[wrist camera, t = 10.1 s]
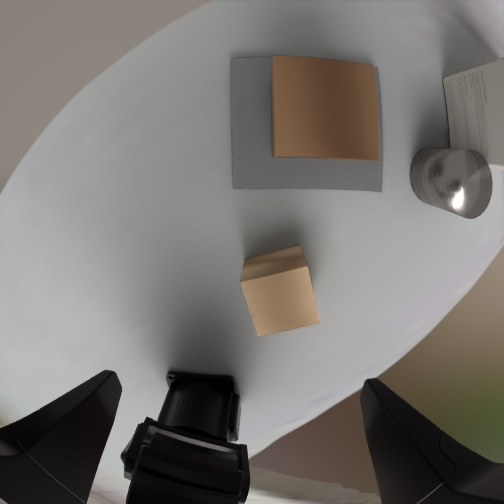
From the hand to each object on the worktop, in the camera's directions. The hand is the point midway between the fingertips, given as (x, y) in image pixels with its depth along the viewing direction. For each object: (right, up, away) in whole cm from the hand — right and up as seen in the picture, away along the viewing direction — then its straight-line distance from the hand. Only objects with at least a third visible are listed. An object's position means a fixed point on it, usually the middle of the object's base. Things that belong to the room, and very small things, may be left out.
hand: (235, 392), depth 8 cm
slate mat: (+4, +13, +8) cm, 16 cm away
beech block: (+3, +3, +12) cm, 12 cm away
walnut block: (+4, +13, +7) cm, 15 cm away
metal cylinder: (+14, +10, +9) cm, 20 cm away
